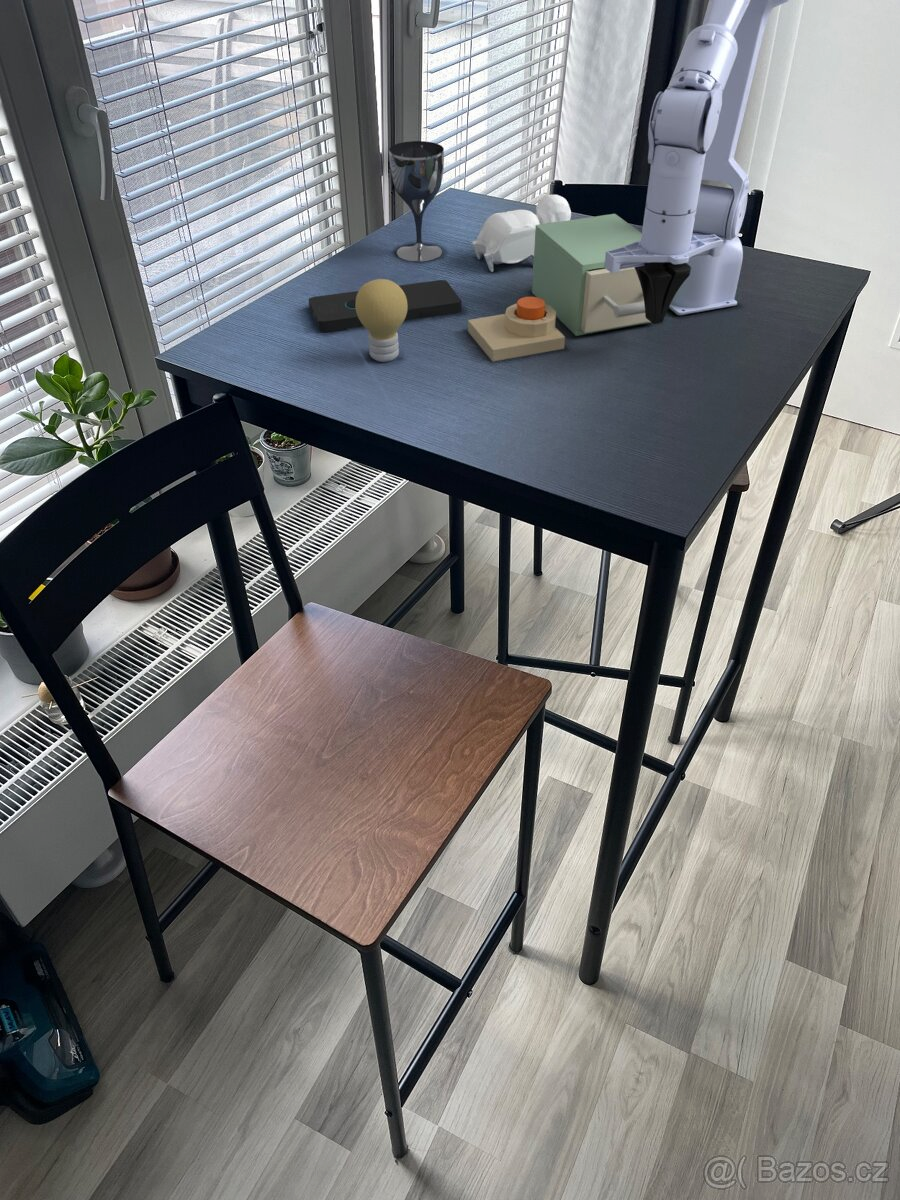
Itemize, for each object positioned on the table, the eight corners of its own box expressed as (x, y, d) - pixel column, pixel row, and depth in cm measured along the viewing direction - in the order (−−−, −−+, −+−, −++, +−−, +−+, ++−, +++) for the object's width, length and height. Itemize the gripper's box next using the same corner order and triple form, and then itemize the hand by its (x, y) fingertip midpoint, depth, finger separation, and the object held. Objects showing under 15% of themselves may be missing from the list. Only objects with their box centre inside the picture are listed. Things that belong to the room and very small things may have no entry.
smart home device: (307, 296, 127) (445, 277, 131) (308, 308, 128) (445, 289, 133) (318, 321, 121) (462, 301, 126) (320, 333, 122) (462, 313, 127)
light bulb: (371, 374, 114) (366, 296, 108) (351, 352, 118) (345, 277, 112) (417, 362, 116) (415, 286, 110) (396, 341, 121) (392, 267, 114)
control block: (537, 319, 125) (539, 295, 123) (566, 348, 119) (568, 323, 117) (467, 331, 123) (467, 306, 120) (492, 362, 116) (493, 336, 114)
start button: (537, 307, 121) (538, 294, 120) (548, 318, 118) (549, 305, 117) (512, 311, 120) (512, 298, 119) (523, 323, 117) (523, 310, 116)
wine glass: (392, 243, 145) (388, 141, 135) (442, 241, 146) (441, 140, 136) (394, 263, 140) (389, 158, 130) (446, 261, 140) (446, 157, 130)
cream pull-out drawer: (676, 335, 120) (686, 276, 114) (600, 349, 117) (607, 289, 112) (611, 281, 132) (618, 226, 127) (542, 292, 130) (545, 236, 124)
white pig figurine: (501, 293, 138) (588, 244, 138) (483, 244, 132) (573, 192, 132) (480, 272, 144) (563, 224, 144) (462, 224, 138) (548, 174, 138)
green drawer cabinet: (656, 322, 124) (667, 251, 118) (575, 336, 121) (582, 265, 115) (607, 280, 135) (614, 213, 128) (531, 292, 132) (535, 224, 125)
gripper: (630, 227, 100) (616, 343, 109) (745, 210, 103) (722, 323, 112) (601, 206, 105) (590, 318, 114) (712, 190, 108) (692, 300, 117)
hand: (653, 319), depth 113 cm, fingers closed
